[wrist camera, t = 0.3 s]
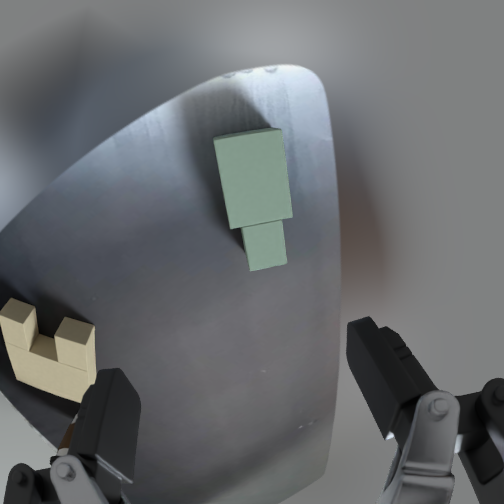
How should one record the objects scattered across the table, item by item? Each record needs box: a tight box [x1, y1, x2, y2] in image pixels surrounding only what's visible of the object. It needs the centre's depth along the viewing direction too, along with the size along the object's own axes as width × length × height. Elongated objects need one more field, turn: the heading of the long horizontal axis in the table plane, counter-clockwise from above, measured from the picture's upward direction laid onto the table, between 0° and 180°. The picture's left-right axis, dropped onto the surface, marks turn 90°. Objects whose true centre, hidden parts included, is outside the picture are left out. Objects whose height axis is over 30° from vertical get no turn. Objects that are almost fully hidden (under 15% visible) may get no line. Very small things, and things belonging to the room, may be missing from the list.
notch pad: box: [0, 298, 96, 403], centre depth 29 cm, size 12×12×4 cm
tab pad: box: [213, 127, 293, 271], centre depth 24 cm, size 11×5×4 cm, turn 8°
